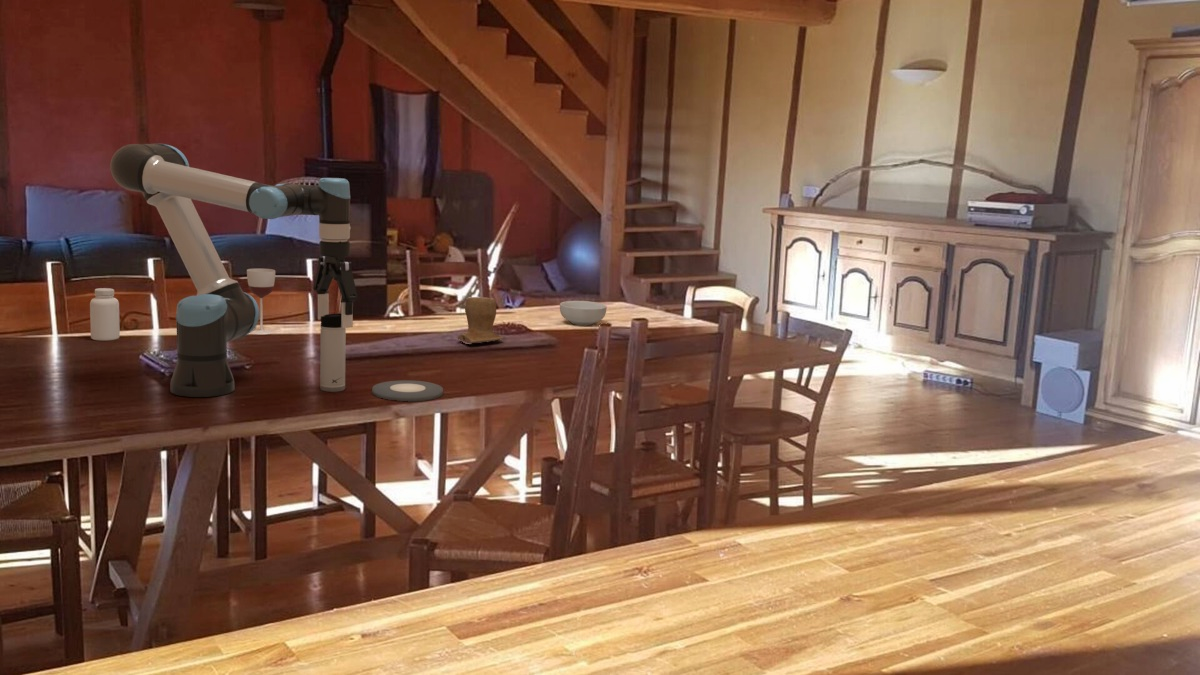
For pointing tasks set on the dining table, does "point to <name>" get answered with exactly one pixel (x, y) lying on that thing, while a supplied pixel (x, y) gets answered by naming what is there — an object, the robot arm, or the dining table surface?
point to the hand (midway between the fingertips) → (335, 323)
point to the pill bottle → (104, 315)
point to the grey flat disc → (407, 390)
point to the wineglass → (261, 290)
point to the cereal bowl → (582, 312)
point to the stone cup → (480, 320)
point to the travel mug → (332, 353)
